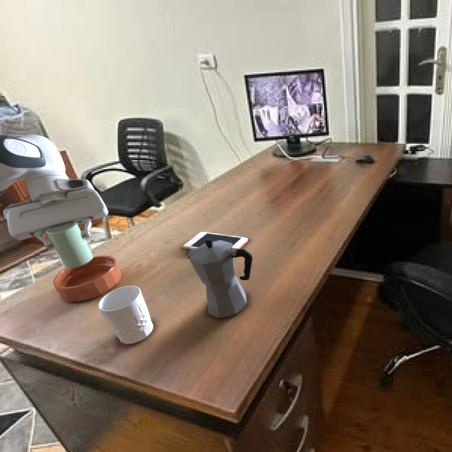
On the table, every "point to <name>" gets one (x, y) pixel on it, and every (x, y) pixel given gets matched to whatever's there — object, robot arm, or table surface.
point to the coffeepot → (221, 275)
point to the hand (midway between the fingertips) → (69, 242)
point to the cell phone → (202, 236)
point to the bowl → (88, 279)
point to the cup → (70, 244)
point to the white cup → (127, 314)
